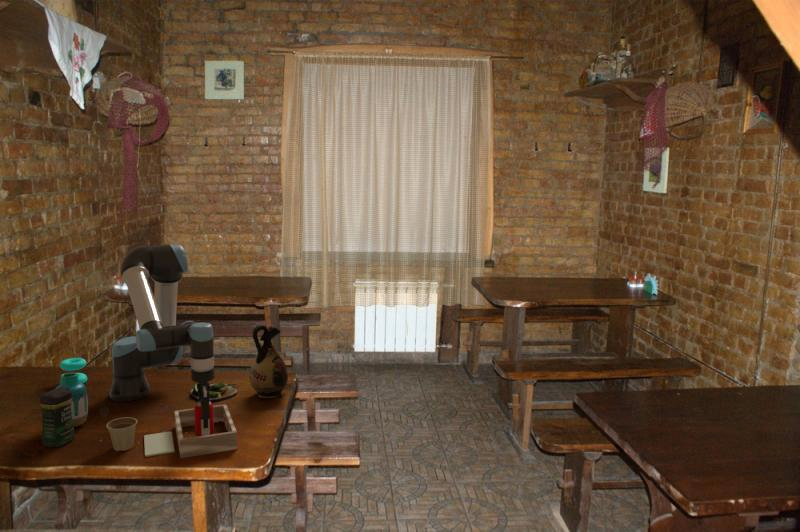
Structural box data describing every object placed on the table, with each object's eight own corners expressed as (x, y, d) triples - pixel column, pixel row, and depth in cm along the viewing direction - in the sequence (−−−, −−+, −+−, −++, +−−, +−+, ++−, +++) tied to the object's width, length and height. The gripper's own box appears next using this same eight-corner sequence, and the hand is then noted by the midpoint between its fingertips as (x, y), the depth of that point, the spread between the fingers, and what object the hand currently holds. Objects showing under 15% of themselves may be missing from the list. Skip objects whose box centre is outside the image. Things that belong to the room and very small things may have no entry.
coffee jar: (58, 449, 204) (54, 396, 201) (38, 446, 206) (33, 393, 203) (79, 437, 213) (76, 386, 210) (60, 434, 215) (56, 383, 212)
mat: (144, 436, 214) (144, 435, 214) (171, 432, 218) (171, 431, 218) (145, 457, 200) (144, 455, 200) (174, 452, 203) (174, 450, 203)
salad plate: (226, 382, 269) (226, 372, 268) (247, 394, 256) (247, 383, 256) (184, 393, 256) (183, 382, 255) (204, 406, 243) (203, 394, 242)
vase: (55, 434, 215) (51, 381, 212) (56, 422, 224) (52, 372, 221) (89, 428, 220) (85, 377, 217) (88, 417, 229) (85, 368, 226)
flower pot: (127, 455, 201) (125, 430, 199) (101, 452, 203) (100, 427, 201) (144, 442, 210) (143, 418, 208) (119, 439, 212) (118, 416, 210)
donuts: (89, 361, 263) (63, 365, 256) (90, 383, 264) (65, 388, 258) (82, 355, 270) (56, 360, 263) (83, 377, 272) (58, 382, 265)
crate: (175, 426, 223) (174, 410, 222) (226, 419, 230) (226, 404, 229) (180, 458, 199) (179, 440, 198) (237, 449, 206) (236, 432, 205)
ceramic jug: (274, 385, 266) (273, 317, 261) (295, 395, 255) (294, 324, 250) (239, 395, 254) (237, 324, 249) (259, 405, 243) (258, 332, 238)
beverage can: (214, 438, 213) (213, 405, 211) (195, 440, 211) (193, 407, 209) (214, 430, 219) (213, 398, 216) (195, 432, 217) (194, 400, 215)
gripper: (188, 360, 218) (190, 422, 222) (193, 378, 200) (196, 445, 204) (210, 358, 221) (212, 419, 225) (217, 376, 203) (219, 441, 207)
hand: (204, 431), depth 214 cm, fingers closed on beverage can, 6 cm apart
